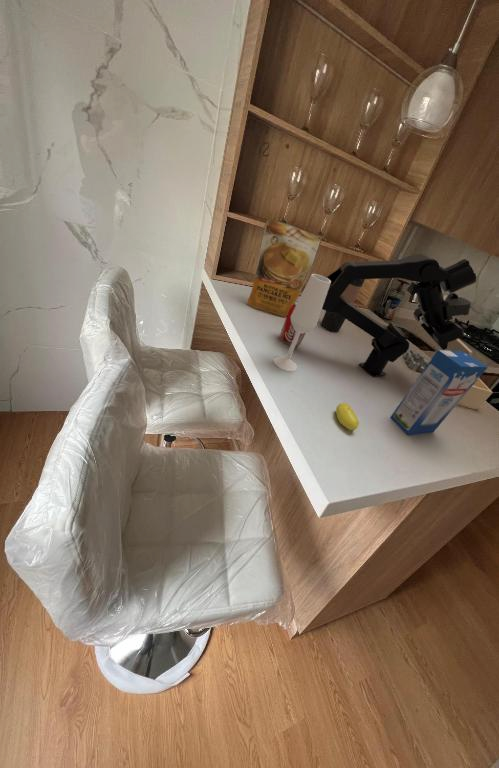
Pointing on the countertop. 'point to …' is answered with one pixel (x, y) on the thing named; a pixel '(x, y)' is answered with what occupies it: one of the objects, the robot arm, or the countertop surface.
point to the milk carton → (437, 391)
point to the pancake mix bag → (282, 267)
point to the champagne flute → (305, 315)
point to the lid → (458, 347)
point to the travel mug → (334, 320)
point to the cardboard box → (475, 395)
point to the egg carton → (415, 360)
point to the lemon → (347, 416)
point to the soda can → (290, 328)
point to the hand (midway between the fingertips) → (442, 346)
